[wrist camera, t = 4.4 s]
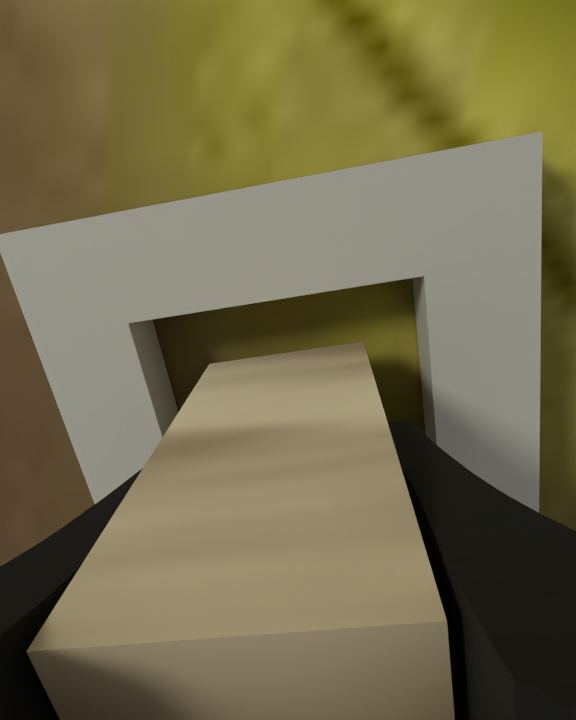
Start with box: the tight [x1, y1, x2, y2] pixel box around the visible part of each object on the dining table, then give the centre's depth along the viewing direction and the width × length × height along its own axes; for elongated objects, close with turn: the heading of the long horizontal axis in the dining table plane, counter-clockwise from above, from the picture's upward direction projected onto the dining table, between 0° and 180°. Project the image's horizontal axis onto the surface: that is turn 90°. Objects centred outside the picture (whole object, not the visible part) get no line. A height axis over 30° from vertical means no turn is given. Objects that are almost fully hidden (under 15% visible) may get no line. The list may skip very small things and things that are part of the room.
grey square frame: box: [0, 132, 542, 513], centre depth 13 cm, size 12×12×2 cm
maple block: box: [26, 342, 455, 720], centre depth 9 cm, size 4×4×8 cm
